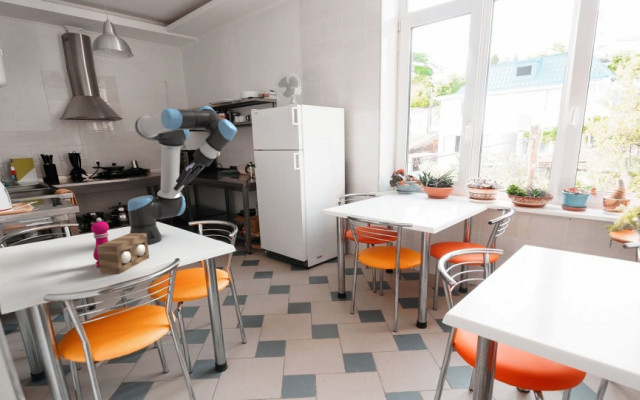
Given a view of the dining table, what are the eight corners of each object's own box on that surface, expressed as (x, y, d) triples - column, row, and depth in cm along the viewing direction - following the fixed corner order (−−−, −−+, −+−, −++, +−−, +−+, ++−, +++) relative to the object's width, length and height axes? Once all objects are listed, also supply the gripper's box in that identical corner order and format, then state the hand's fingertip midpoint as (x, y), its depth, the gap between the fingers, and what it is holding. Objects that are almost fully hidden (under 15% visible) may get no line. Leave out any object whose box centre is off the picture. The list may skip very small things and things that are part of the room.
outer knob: (112, 260, 131) (111, 249, 131) (131, 260, 130) (130, 249, 130) (104, 264, 127) (102, 253, 126) (123, 264, 126) (122, 253, 125)
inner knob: (128, 253, 140) (126, 243, 139) (145, 253, 139) (144, 243, 138) (120, 256, 136) (119, 246, 135) (138, 257, 135) (137, 246, 134)
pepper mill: (119, 261, 138) (113, 215, 134) (107, 268, 131) (100, 219, 127) (104, 261, 139) (97, 216, 135) (90, 267, 131) (83, 220, 128)
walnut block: (132, 257, 143) (129, 233, 141) (149, 257, 142) (146, 233, 140) (100, 273, 125) (96, 246, 123) (119, 273, 124) (116, 246, 122)
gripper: (206, 160, 123) (169, 204, 128) (220, 159, 136) (186, 198, 140) (191, 146, 123) (155, 191, 127) (207, 146, 135) (173, 186, 140)
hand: (171, 195), depth 134 cm, fingers closed
